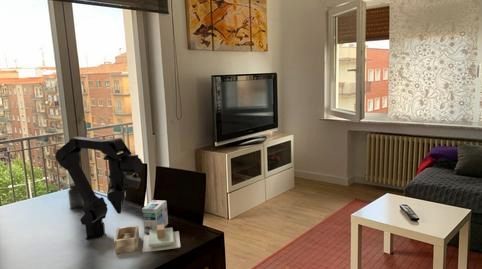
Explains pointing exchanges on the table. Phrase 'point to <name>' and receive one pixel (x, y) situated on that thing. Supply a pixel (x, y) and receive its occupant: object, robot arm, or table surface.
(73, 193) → the supplement bottle
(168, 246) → the felt mat
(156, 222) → the light bulb box
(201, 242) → the table surface
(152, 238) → the lid
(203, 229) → the table surface
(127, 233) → the crate
